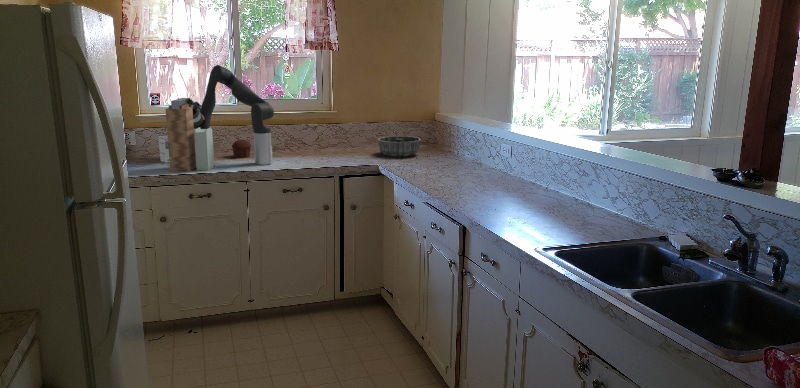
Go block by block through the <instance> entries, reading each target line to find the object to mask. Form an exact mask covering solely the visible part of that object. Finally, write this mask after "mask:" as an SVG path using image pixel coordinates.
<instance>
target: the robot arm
mask: <svg viewBox="0 0 800 388" xmlns="http://www.w3.org/2000/svg"><path fill="white" fill-rule="evenodd" d="M218 83H219V84H221V85H224V86H225V87H227V88H229V90H230V92H231V94H232V96H233V97H234V98H235V99H236V100H237V101H239V102H240V103H242V104H244V105H246V106H249V107H251V108H250V118H251V126H252V130H253V144H254V145H253V148H254V151H253V152H254V164H255V165H259V166H261V165H262V166H263V165H264V166H265V165H266V166H267V165H272V164H273V145H272V133H271V132H272V130H271V127H270V126H268V125H265V124H264V121H266V120H271V119H272V118H273V117H274V114H275V112H274V108H273V106H272V105H271V104H270V103H269V102H267V101H266V100H265V99H263V98H262V97H260V96H259V95H258V94H256V93H255V92H254V91H253V90H252V89H250V88H249V87H248V86H247V85H246V84H245V83H244V82H242V80H241V81H240V80H239V79H238V78H237V76H236V75H235V74H234V73H233V72H232V71H231V70H230V69H229V68H226V67H224V66H222V65H221V64H216V65H214V66H213V67H212V69H211V72H210V73H209V78H208V82H207V86H206V89H205V90H206V91H205V95H204V98H203V101H202V103H201V104H200V103H199V101H194V100H192V99H191V97H188V98H189V99H188V102H189V104H190V106H189V107H192V110H193V125H194V130H195V129H197V128H199V127H200V129H208V128H210V126H211V120H212V114H213V112H214V110H215V106H216V104H217V103H216V102H217V99H216V89H217V84H218ZM177 99H180V98H177Z"/></svg>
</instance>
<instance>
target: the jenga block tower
mask: <svg viewBox="0 0 800 388" xmlns="http://www.w3.org/2000/svg"><path fill="white" fill-rule="evenodd" d="M180 107H181V109H172V108H171V104H170V105H168V107H167V108H165V119H166V120H165V121H166V133H167V134H166V135H168V148H169V161H170V162H169V171H170V172H192V171H193V170H194V169H196V168H197V163H196V149H195V134H194V130H195V129H194V125H193V110H192V107H189V104H185V105H182V106H180Z"/></svg>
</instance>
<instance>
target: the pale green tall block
mask: <svg viewBox="0 0 800 388" xmlns="http://www.w3.org/2000/svg"><path fill="white" fill-rule="evenodd" d="M194 139H195V154H196V171H210V170H211V169H213V168H214V167H215V159H214V158H215V157H214V156H215V155H214V154H215V153H214V141H213V129H212V127H210V128H208V129H200V127H199V128H197V129H194Z"/></svg>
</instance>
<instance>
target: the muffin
mask: <svg viewBox="0 0 800 388" xmlns="http://www.w3.org/2000/svg"><path fill="white" fill-rule="evenodd" d="M231 148H232V152H233V156H234V158H235V159H238V158H239V159H245V158H246V159H247V158H250V156H251V149H252V144H251V143H250V141H248V140H247V139H243V138H241V139H237V140H234V142H233V143H232V145H231Z"/></svg>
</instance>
